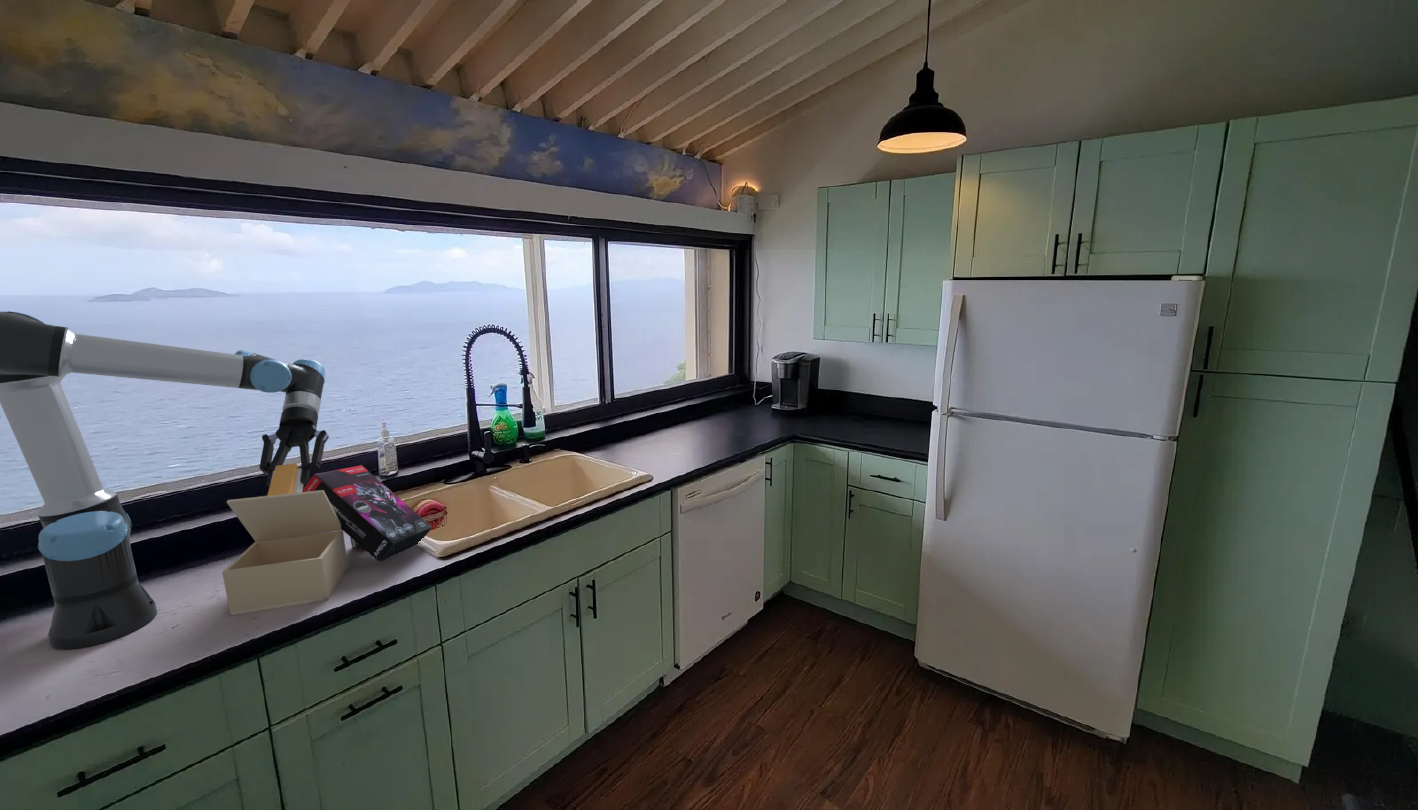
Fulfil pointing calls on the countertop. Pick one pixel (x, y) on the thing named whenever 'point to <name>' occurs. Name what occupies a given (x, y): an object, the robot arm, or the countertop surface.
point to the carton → (286, 572)
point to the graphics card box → (370, 511)
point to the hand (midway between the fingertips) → (284, 496)
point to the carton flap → (286, 509)
